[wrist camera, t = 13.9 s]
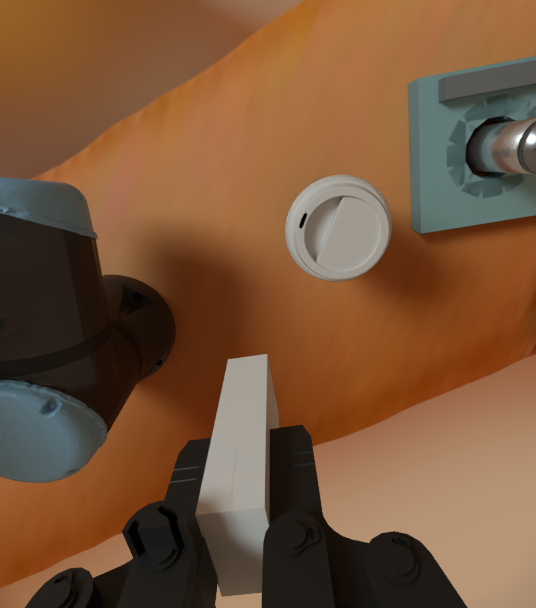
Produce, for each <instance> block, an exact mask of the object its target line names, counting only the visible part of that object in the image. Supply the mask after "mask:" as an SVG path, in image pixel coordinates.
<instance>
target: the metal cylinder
mask: <svg viewBox="0 0 536 608" xmlns="http://www.w3.org/2000/svg"><path fill="white" fill-rule="evenodd" d="M465 162H466V164H467V165H468V167H469V169H470V170H472V171H485V172H502V173H518V174H535V175H536V118H530V119H523V120H517V121H511V122H504V123H498V124H491V125H485V126H479V127H477V128H475V129H474V131H473V133H472V134H471V136H470V138H469V140H468V142H467V144H466V156H465Z"/></svg>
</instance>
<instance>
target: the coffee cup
mask: <svg viewBox="0 0 536 608" xmlns="http://www.w3.org/2000/svg"><path fill="white" fill-rule="evenodd" d="M391 232H392V219H391V213H390V209H389V207H388V204H387V202H386V200H385V198H384V197H383V195H382V194H381V193H380V191H379V190H378V189H377V188H376V187H375V186H373V185H372V184H371V183H369V182H368V181H366V180H364V179H362V178H359V177H356V176H351V175H333V176H328V177H325V178H322V179H320V180H318V181H316V182H314V183H312V184H311V185H309V186H308V187H307V188H305V189H304V190H303V191H302V192H301V193H300V194H299V196H298V197H297V198H296V200H295V201H294V203H293V204H292V206H291V208H290V210H289V213H288V216H287V220H286V227H285V236H286V243H287V247H288V250H289V252H290V254H291V256H292V258H293V259H294V261H295V262H296V263H297V265H298V266H299V267H300V268H301V269H302V270H304V271H305V272H306V273H308V274H310V275H311V276H313V277H316V278H318V279H321V280H325V281H334V282H338V281H346V280H350V279H354V278H356V277H359V276H361V275H362V274H364V273H366V272H367V271H369V270H370V269H371V268H372V267H374V266H375V265H376V264H377V262H378V261H379V260H380V259H381V257H382V256H383V254H384V253H385V251H386V249H387V247H388V244H389V241H390V238H391Z"/></svg>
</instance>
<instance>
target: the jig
mask: <svg viewBox="0 0 536 608" xmlns="http://www.w3.org/2000/svg"><path fill="white" fill-rule="evenodd" d="M408 96H409V135H410V175H411V214H412V230H414V231H416V232H418V233H420V234H423V233H429V232H435V231H441V230H447V229H454V228H460V227H466V226H472V225H478V224H484V223H491V222H497V221H503V220H509V219H515V218H522V217H528V216H534V215H536V175H535V174H518V173H502V172H491V173H490V174H488V175H487V176H483V177H478V176H476V175H474V174H472V172H471V170H470V169H469V167H468V165H467V164H466V162H465V156H466V144H467V142H468V140H469V138H470V136H471V134H472V133H473V131H474V129H475V128H477V127H478V126H479V125H480V124H482V123H483V122H484V121H486V120H487V119H488V118H489V119H492V120H494V121H496V122H498V123H504V122H511V121H517V120H523V119H530V118H536V56H534V57H529V58H523V59H518V60H513V61H507V62H502V63H497V64H492V65H486V66H481V67H476V68H470V69H465V70H460V71H455V72H449V73H444V74H439V75H433V76H428V77H423V78H418V79H416V80H414V81H413V82H411V83H409V84H408Z"/></svg>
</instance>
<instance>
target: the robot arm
mask: <svg viewBox="0 0 536 608" xmlns="http://www.w3.org/2000/svg"><path fill="white" fill-rule="evenodd" d="M96 239H98V238H97V234H96V233H95V232H94V230H93V226H92V222H91V217H90V213H89V209H88V204H87V201H86V199H85V197H84V195H83V194H82V193H81V192H80V191H79V190H78V189H77V188H75V187H73V186H72V185H69V184H66V183H61V182H51V181H40V180H28V179H16V178H2V177H0V477H3V478H7V479H11V480H15V481H21V482H30V483H44V482H52V481H57V480H61V479H64V478H67V477H69V476H71V475H73V474H75V473H76V472H78V471H79V470H80V469H82V468H83V467H84V466H85V465H86V464H87V463H88V462H89V461H90V459H91V458H92V456H93V455H94V454H95V452H96V451H97V450H98V449H99V447H101V446H102V445H103V443H104V442H105V440H106V438H107V436H106V435H107V434H108V432H109V430H110V428H111V427H112V425H113V423H114V422H115V420H116V418H117V416H118V415H119V413H120V411H121V410H122V408H123V406H124V404H125V403H126V401H127V399H128V398H129V396H130V394H131V393H132V391H133V389H134V387H135V386H136V384H137V383H139V382H140V381H142V380H144V379H145V378H147V377H148V376H150V375H152V374H153V373H154V372H156V371H157V370H158V369H159V368H160V367H161V366H162V365H163V363H164V362H165V361H166V359H167V357H168V355H169V353H170V351H171V349H172V347H173V344H174V340H175V324H174V319H173V316H172V314H171V311H170V309H169V308H168V306H167V304H166V303H165V301H164V300H163V299H162V298H161V297H160V296H159V294H157V293H156V292H155V291H154V290H153V289H152V288H150V287H149V286H147V285H146V284H144V283H142V282H140V281H138V280H136V279H133V278H130V277H126V276H120V275H104V276H102V272H101V267H100V261H99V255H98V249H97V244H96ZM170 481H171V483H170V484H169V487H168V490H167V493H166V496H165V500H164V501H158V502H155V503H151V504H149V505H147V506H145V507H144V508H142V509H140V510H138V511H137V512H136V513H135V514H134V515H133V516H132V517H131V518H130V519H129V520H128V522H127V524H126V525H125V527H124V529H123V530H122V533H123V535H124V537H125V540H126V542H127V544H128V547H129V549H130V551H131V553H132V556H133V559H132V560H131V561H129V562H127V563H126V564H124V565H122V566H120V567H118V568H115V569H113V570H111V571H108V572H106V573H104V574H101V575H99V576H97V577H94V578H92V576H91V574H90V572H89V571H87V570H85V569H83V568H70V569H68V570H65V571H63V572H61V573H58V574H57V575H55V576H54V577H53V578H51V579H50V580H49V581H47V582H46V583H45V584H44V585H43V586H42V587H41V588H40V589H39V590H38V591H37V592H36V594H35V595H34V596H33V597H32V599H31V600H30V601H29V603H28V604H27V606H26V607H25V608H216V607H215V600H216V592H217V584H218V586H219V589H220V592H221V595H222V596H231V595H242V594H252V593H262V608H467V606H466V605H465V603H464V602H463V600H462V599H461V597H460V596H459V595H458V593H457V591H456V590H455V588H454V587H453V586H452V584H451V582H450V581H449V580H448V578H447V577H446V575H445V574H444V572H443V571H442V569H441V568H440V566H439V565H438V563H437V562H436V560H435V559H434V557H433V556H432V554H431V553H430V552H429V551H428V550H427V548H426V547H425V546H424V545H423V544H422V543H421V542H420V541H418V540H417V539H415V538H413V537H411V536H410V535H408V534H404V533H399V532H388V533H381V534H380V535H378V536H376V537H375V538H373V539H372V540H371V541H370V543H365V542H361V541H356V540H352V539H349V538H346V537H343V536H342V535H340V534H338V533H337V532H335V531H334V530H333V529H332V528H331V527H330V526H329V525H328V524H327V522H326V520H325V519H324V517H323V513H322V507H321V500H320V493H319V487H318V479H317V473H316V466H315V460H314V453H313V447H312V440H311V436H310V434H309V433H308V432H307V430H306V429H305V428H304V427H303V425H297V426H290V427H282V428H279V415H278V408H277V403H276V397H275V392H274V387H273V382H272V376H271V371H270V366H269V361H268V355H267V354H263V355H256V356H249V357H242V358H235V359H228V362H227V367H226V372H225V377H224V381H223V386H222V391H221V395H220V400H219V405H218V410H217V414H216V419H215V424H214V429H213V433H212V438H206V439H199V440H191V441H188V443H187V444H186V445H185V447H184V448H183V449H182V450H181V452H180V453H179V455H178V458H177V461H176V464H175V467H174V471H173V474H172V477H171V480H170Z"/></svg>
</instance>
